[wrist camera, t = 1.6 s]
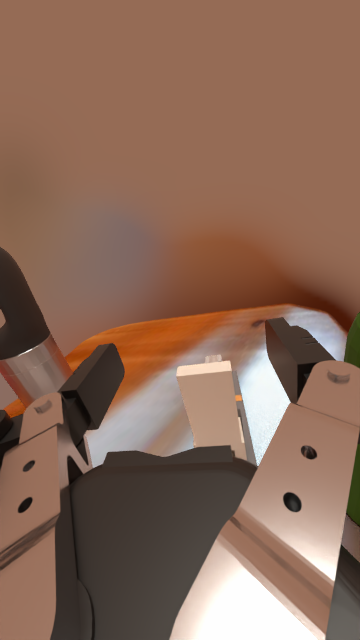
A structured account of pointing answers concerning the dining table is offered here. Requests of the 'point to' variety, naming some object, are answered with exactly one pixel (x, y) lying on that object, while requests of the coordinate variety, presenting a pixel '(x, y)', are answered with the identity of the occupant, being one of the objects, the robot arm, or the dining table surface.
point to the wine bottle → (356, 354)
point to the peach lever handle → (212, 406)
